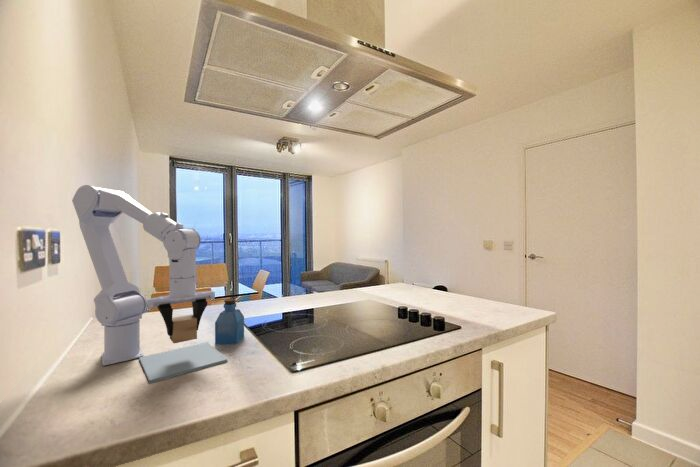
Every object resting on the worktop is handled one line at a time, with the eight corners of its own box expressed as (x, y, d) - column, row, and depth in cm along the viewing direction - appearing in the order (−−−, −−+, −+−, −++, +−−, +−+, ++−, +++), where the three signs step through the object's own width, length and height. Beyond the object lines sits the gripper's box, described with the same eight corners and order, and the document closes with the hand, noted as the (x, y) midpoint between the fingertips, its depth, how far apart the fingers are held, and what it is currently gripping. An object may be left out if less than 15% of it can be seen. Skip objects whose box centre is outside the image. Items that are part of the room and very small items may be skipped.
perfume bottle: (244, 336, 92) (243, 297, 92) (237, 343, 86) (236, 301, 86) (223, 337, 92) (223, 297, 92) (215, 344, 85) (214, 302, 86)
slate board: (139, 359, 75) (139, 357, 75) (207, 344, 85) (207, 342, 85) (149, 383, 63) (149, 380, 63) (227, 361, 73) (227, 359, 73)
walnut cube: (169, 338, 74) (169, 318, 74) (191, 333, 78) (191, 314, 78) (173, 343, 71) (173, 322, 71) (196, 338, 74) (196, 318, 74)
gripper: (150, 282, 67) (150, 343, 66) (218, 275, 76) (218, 329, 76) (145, 278, 72) (146, 335, 72) (209, 273, 81) (210, 323, 81)
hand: (183, 332), depth 74 cm, fingers closed on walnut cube, 5 cm apart
